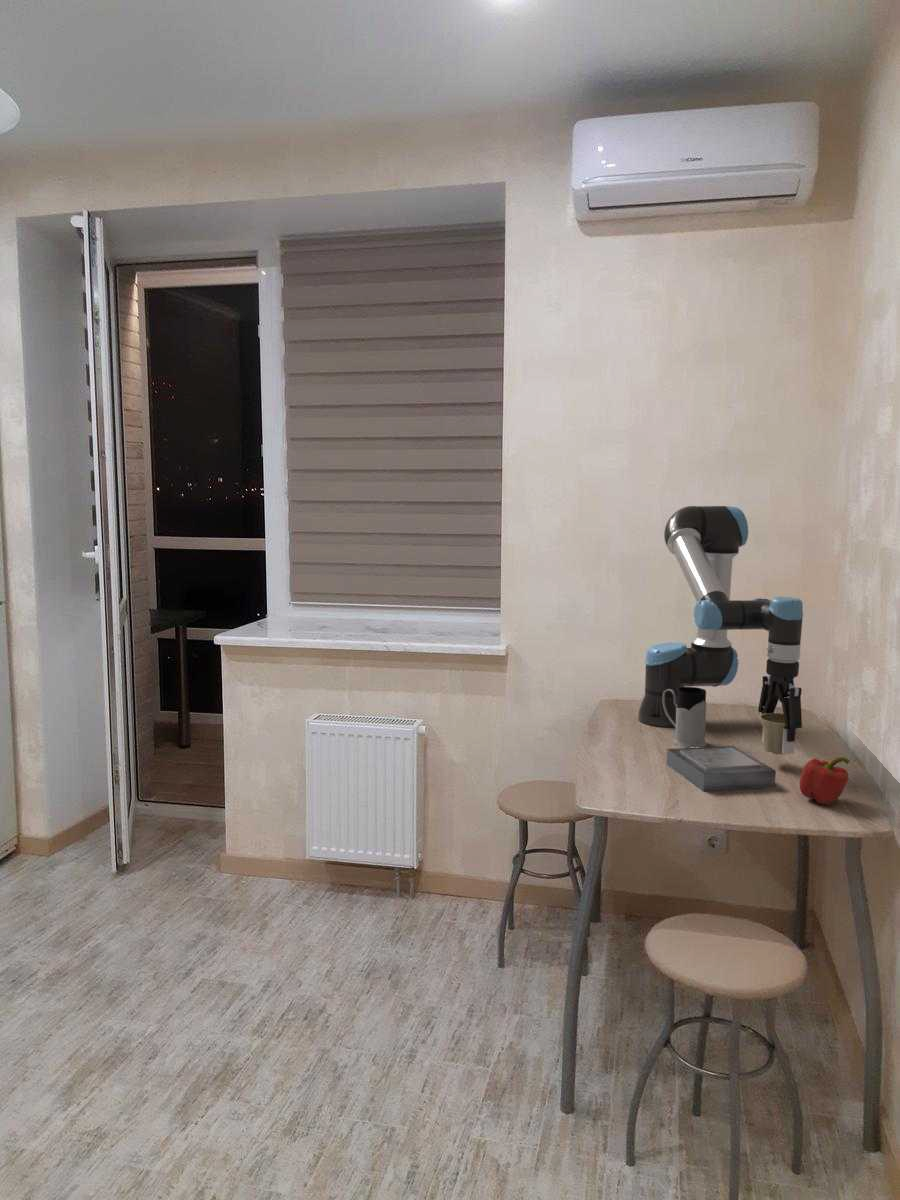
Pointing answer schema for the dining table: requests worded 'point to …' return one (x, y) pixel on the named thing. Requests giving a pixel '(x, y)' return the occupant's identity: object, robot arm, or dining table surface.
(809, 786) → the vegetable
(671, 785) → the dining table surface
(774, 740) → the flower pot
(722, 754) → the gray square platform
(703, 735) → the grey pitcher
